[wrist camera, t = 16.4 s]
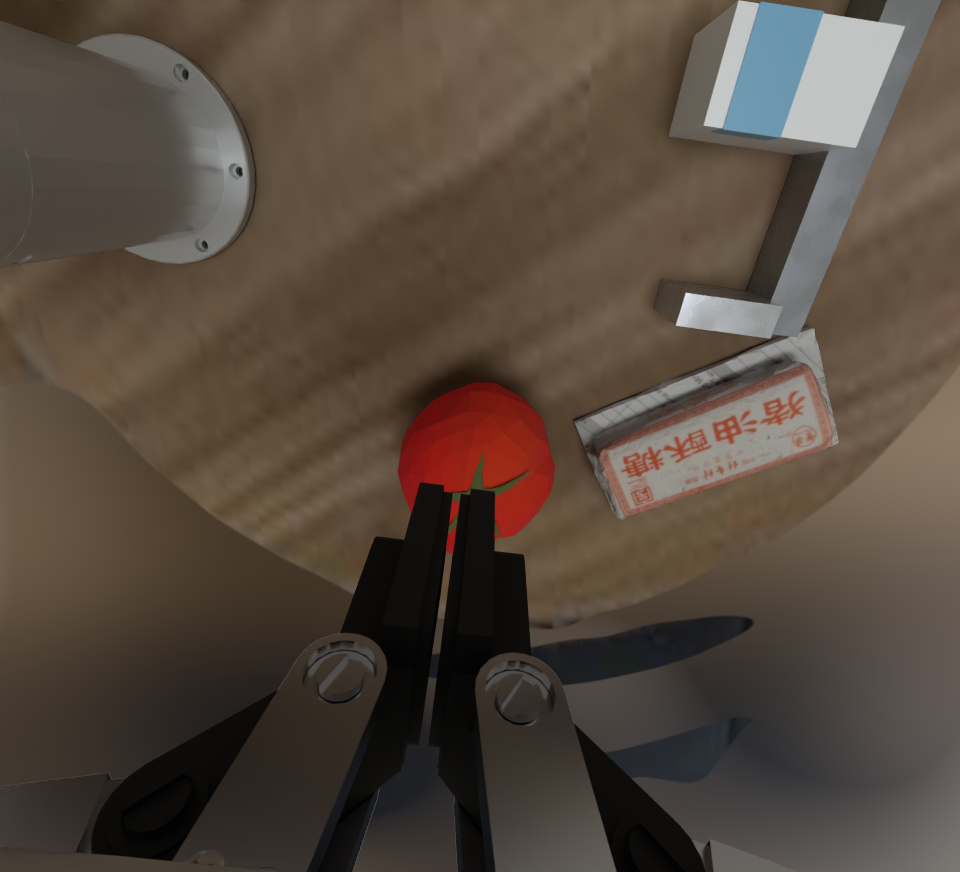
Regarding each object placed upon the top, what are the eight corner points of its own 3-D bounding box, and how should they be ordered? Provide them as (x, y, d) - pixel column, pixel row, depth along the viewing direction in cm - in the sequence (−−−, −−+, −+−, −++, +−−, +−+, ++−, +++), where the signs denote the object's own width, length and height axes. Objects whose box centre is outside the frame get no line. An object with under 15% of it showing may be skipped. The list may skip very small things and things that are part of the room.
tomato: (396, 484, 43) (369, 565, 34) (428, 346, 37) (404, 397, 28) (521, 514, 44) (527, 601, 34) (570, 384, 38) (592, 445, 29)
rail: (653, 308, 35) (675, 325, 31) (807, -239, 24) (879, -338, 19) (771, 324, 35) (810, 344, 31) (982, -210, 24) (1093, -302, 19)
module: (667, 137, 31) (703, 126, 25) (693, 34, 28) (740, -2, 23) (793, 156, 31) (856, 149, 25) (830, 55, 29) (907, 24, 23)
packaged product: (624, 545, 39) (579, 444, 35) (612, 510, 44) (571, 416, 40) (868, 464, 35) (848, 339, 31) (828, 433, 40) (806, 321, 36)
